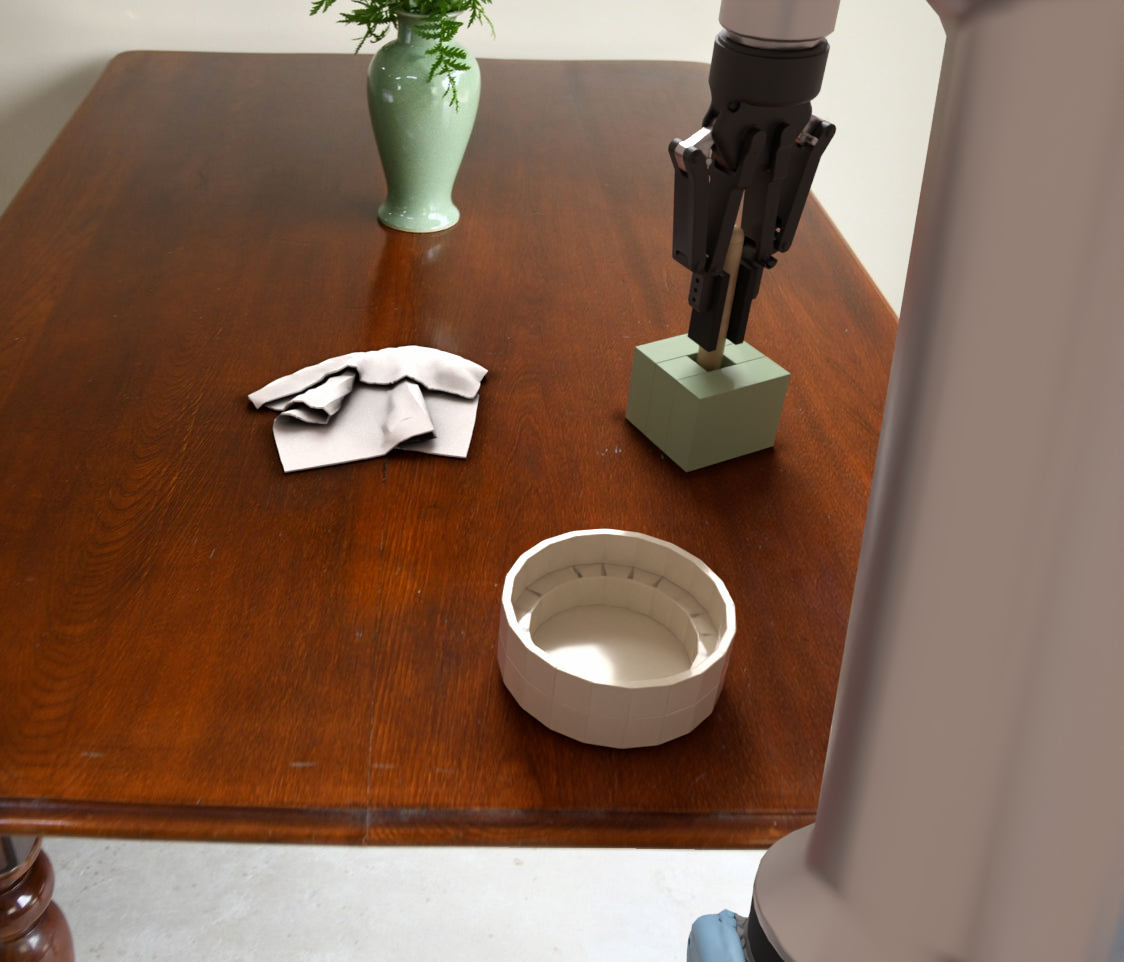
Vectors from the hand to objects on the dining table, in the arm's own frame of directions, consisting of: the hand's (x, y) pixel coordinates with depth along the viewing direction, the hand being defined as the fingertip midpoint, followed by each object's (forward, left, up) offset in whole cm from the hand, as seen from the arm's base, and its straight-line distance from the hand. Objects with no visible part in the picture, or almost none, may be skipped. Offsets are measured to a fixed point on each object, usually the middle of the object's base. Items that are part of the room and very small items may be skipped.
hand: (715, 339), depth 90 cm
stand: (0, 0, -9) cm, 9 cm away
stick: (0, 0, -8) cm, 8 cm away
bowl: (-20, +22, -9) cm, 31 cm away
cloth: (+15, +24, -9) cm, 30 cm away
